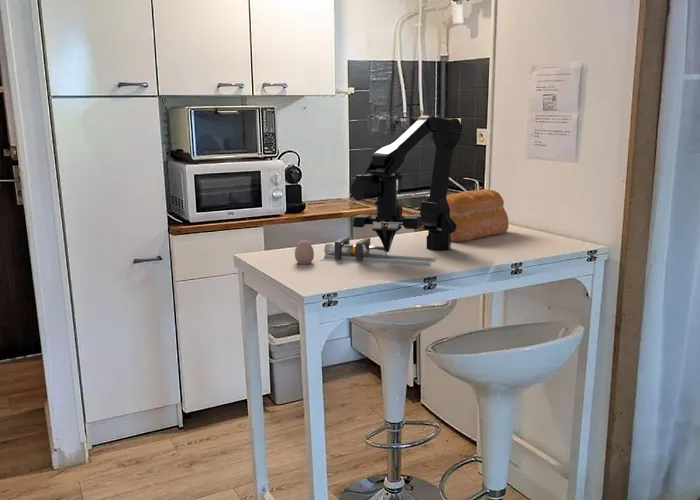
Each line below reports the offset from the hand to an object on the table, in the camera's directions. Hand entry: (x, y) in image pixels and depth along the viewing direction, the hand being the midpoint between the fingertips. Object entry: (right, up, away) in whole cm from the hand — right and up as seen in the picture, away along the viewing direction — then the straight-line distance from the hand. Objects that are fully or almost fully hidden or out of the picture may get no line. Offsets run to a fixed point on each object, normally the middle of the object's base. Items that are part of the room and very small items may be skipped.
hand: (387, 251), depth 186 cm
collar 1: (-13, -1, +5) cm, 14 cm away
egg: (-23, -4, -1) cm, 24 cm away
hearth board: (-2, -3, +2) cm, 4 cm away
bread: (+31, +5, +36) cm, 47 cm away
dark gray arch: (-7, -2, +3) cm, 8 cm away
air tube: (-9, -2, +4) cm, 10 cm away
